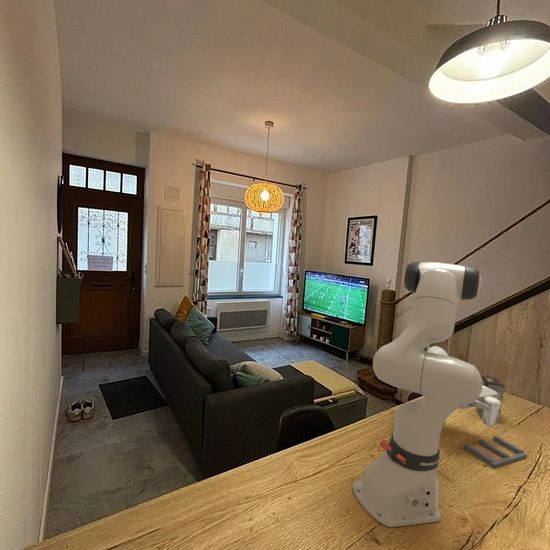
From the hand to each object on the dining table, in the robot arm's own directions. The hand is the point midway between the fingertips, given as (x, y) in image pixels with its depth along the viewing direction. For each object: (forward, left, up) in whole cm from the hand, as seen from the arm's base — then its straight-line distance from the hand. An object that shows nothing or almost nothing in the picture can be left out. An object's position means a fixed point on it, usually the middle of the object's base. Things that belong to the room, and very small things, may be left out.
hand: (495, 407), depth 103 cm
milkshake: (0, +1, -6) cm, 6 cm away
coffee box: (+28, +18, -17) cm, 37 cm away
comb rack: (+4, +1, -17) cm, 17 cm away
